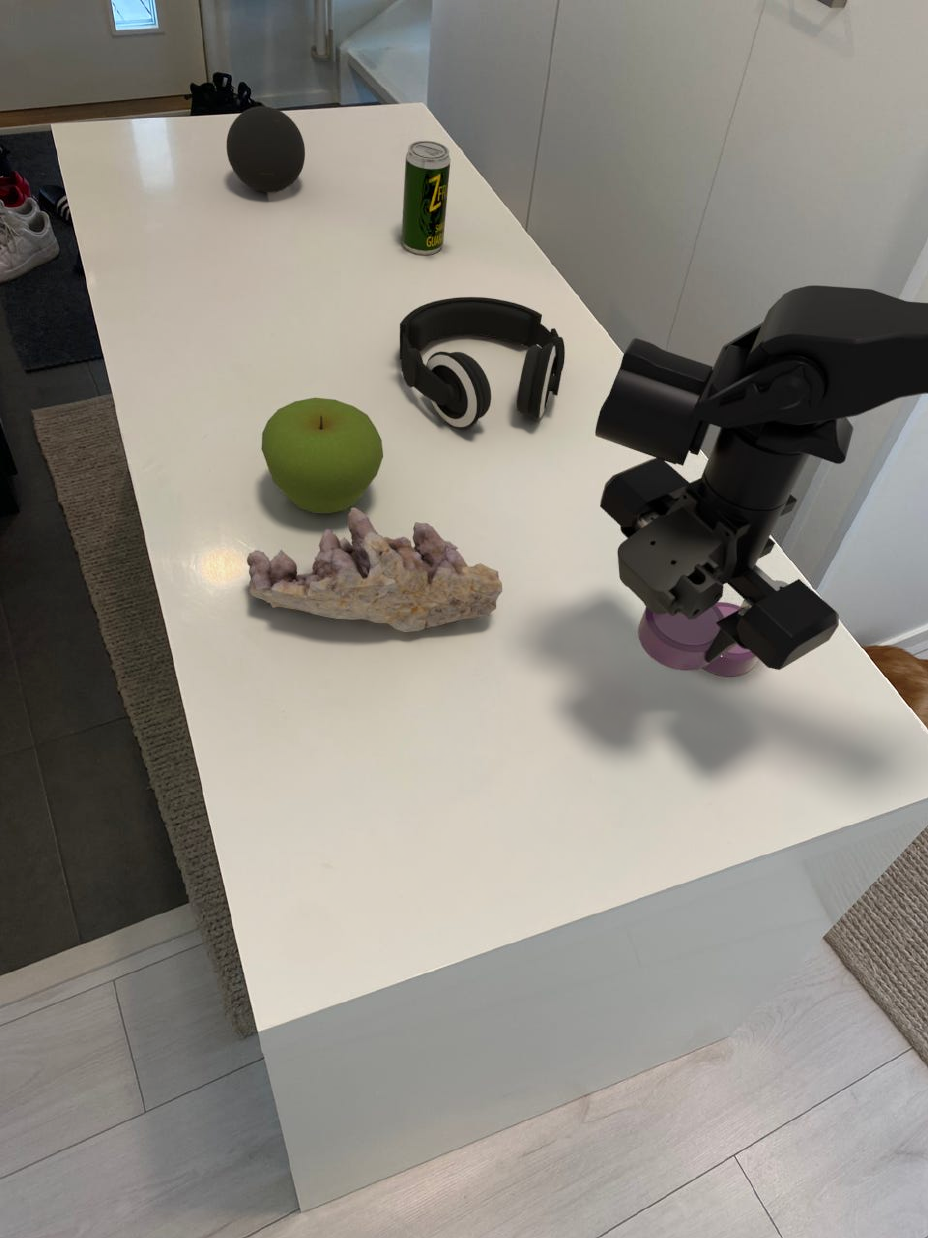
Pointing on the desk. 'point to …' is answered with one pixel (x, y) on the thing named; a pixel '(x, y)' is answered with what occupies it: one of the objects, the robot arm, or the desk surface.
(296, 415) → the apple
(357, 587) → the mineral specimen
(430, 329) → the headphones
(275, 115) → the speaker
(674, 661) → the dish
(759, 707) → the desk surface
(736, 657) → the dish
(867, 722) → the desk surface
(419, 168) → the green energy drink can
